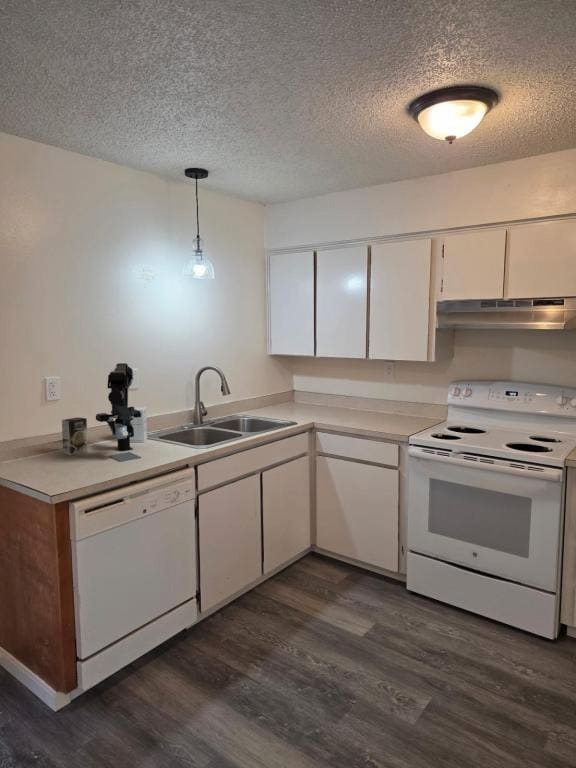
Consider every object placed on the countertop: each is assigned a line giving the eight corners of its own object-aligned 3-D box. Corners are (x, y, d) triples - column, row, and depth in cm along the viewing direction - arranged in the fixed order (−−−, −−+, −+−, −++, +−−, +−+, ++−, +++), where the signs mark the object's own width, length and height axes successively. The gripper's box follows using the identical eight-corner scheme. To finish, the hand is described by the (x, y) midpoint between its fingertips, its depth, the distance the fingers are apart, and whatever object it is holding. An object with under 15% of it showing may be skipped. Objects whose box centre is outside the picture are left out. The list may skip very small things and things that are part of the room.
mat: (108, 456, 229) (108, 455, 229) (129, 452, 236) (129, 451, 236) (120, 461, 220) (120, 460, 220) (141, 457, 227) (141, 457, 227)
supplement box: (147, 438, 266) (147, 407, 264) (144, 442, 257) (144, 409, 255) (129, 438, 265) (128, 407, 263) (125, 442, 256) (124, 410, 254)
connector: (110, 435, 228) (110, 424, 227) (120, 434, 231) (119, 423, 230) (120, 440, 219) (120, 429, 219) (130, 438, 222) (130, 427, 221)
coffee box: (71, 456, 229) (69, 421, 227) (62, 454, 233) (61, 419, 231) (88, 451, 237) (87, 418, 235) (79, 449, 240) (78, 416, 238)
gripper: (104, 404, 212) (105, 440, 214) (146, 400, 224) (146, 434, 226) (94, 401, 220) (96, 436, 222) (135, 397, 232) (136, 430, 234)
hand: (119, 434), depth 226 cm, fingers closed on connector, 4 cm apart
